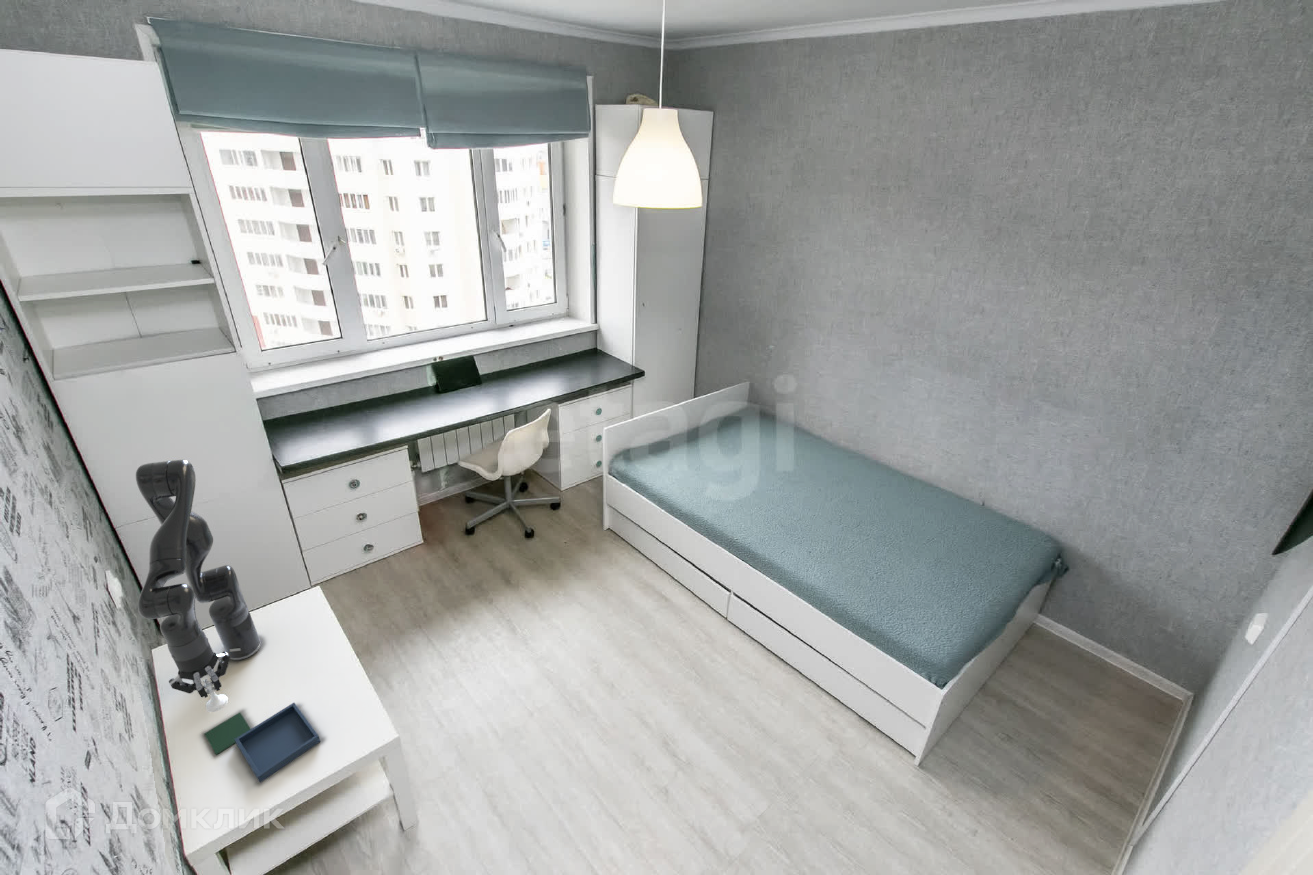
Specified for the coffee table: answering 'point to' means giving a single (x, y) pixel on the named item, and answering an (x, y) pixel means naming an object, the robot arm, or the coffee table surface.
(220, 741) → the pad
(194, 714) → the coffee table surface
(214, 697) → the chess piece
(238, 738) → the tray
